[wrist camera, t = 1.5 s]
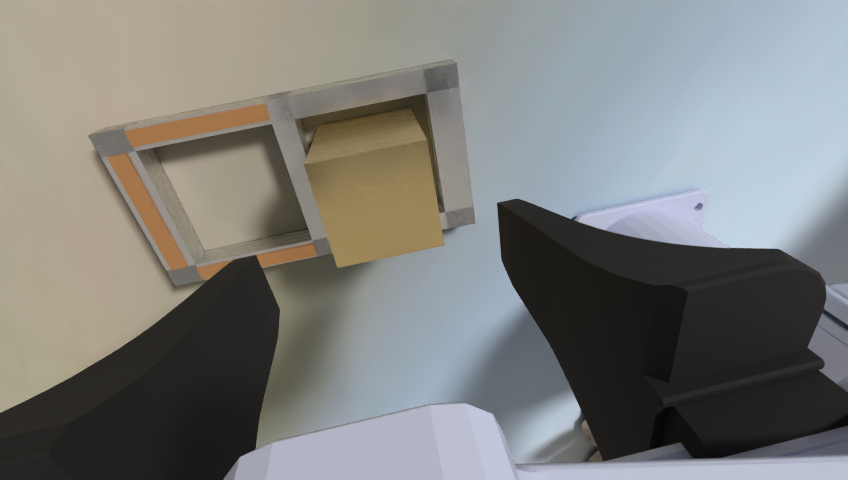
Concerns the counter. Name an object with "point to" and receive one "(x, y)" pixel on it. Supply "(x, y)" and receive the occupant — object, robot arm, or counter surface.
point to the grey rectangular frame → (167, 220)
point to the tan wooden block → (374, 187)
